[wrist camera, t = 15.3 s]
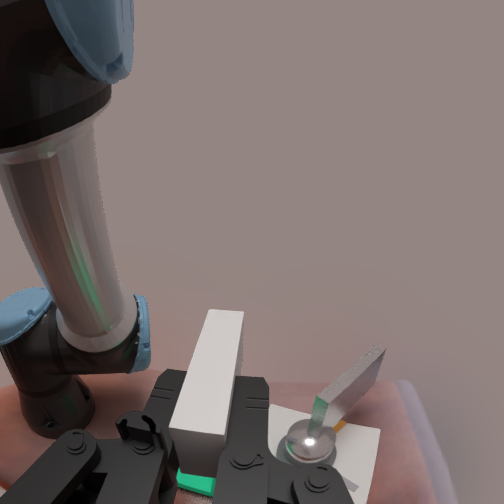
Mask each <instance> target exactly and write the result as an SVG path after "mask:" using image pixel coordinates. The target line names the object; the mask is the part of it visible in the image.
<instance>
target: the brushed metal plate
mask: <svg viewBox="0 0 504 504" xmlns="http://www.w3.org/2000/svg"><path fill="white" fill-rule="evenodd" d="M385 351H386V348H384V347H382V346H380V345H378V344H375V345H374V346H373V347H372V348H371V349H370V350H369V351H368V352H367V353H365V354H364V355H363V356H362V357H361V358H360V359H359V360H358V361H357V362H356V363H355V364H353V365H352V366H351V367H350V368H349V369H348V370H347V371H346V372H344V373H343V374H342V375H341V376H340V377H339V378H337V379H336V380H335V381H334V382H333V383H331V384H330V385H329V386H328V387H327V388H325V389H324V390H323V391H322V392H320V393H319V394H318V395H317V396H316V399H315V403H314V407H313V411H312V415H311V419H303V420H300V421H297V422H295V423H294V424H293V425H292V426H291V427H290V428H289V430H288V433H287V437H286V442H285V447H284V453H285V456H286V458H287V459H288V460H289V461H290V462H291V463H292V464H294V465H296V466H298V467H302V466H305V465H307V464H310V463H325V462H326V461H327V460H328V458H329V457H330V454H331V452H332V450H333V447H334V445H335V442H336V433H335V431H334V429H333V428H332V426H333V425H334V424H335V423H336V422H338V421H339V420H340V419H341V418H342V417H343V416H344V415H345V414H346V413H347V412H348V411H349V410H350V409H351V408H352V407H353V406H354V405H355V404H356V403H357V402H358V401H359V400H360V399H361V398H362V397H363V396H364V395H365V394H366V393H367V392H368V390H369V389H370V388H371V387H372V386H373V385H374V383H375V380H376V377H377V374H378V371H379V369H380V366H381V363H382V360H383V356H384V354H385Z"/></svg>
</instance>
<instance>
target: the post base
mask: <svg viewBox="0 0 504 504" xmlns="http://www.w3.org/2000/svg"><path fill="white" fill-rule="evenodd" d="M303 419H311V415H310V414H306V413H302V412H298V411H295V410H291V409H287V408H284V407H280V406H277V405H273V404H271V405H270V407H269V419H268V447H269V449H270V451H271V453H272V454H273V455H274V456H275V457H276V458H277V459H279V460H280V461H282V462H285V463H287V464H291V465H294V464H292V463H291V462H290V461H289V460H288V459H287V458H286V456H285V453H284V447H285V442H286V437H287V433H288V430H289V428H290V427H291V426H292V425H293V424H294V423H295V422H297V421H300V420H303ZM332 428H333V429H334V431H335V433H336V442H335V445H334V447H333V450H332V452H331V454H330V457H329V458H328V460H327V461H326V462H325V463H324V464H329V465H331V466H332V467H334V468H336V469H337V470H338V472H339V473H340V474H341V476H342V478H343V480H344V482H345V485H346V487H347V489H348V491H349V493H350V495H351V497H352V500H353V502H354V504H366V502H367V498H368V494H369V489H370V485H371V480H372V475H373V470H374V465H375V460H376V454H377V449H378V443H379V436H380V429H376V428H370V427H365V426H360V425H354V424H350V423H346V422H344V421H343V420H341V421H338V422H336V423H335V424H334V425H333V426H332ZM294 466H296V465H294Z"/></svg>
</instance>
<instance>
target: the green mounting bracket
mask: <svg viewBox="0 0 504 504" xmlns="http://www.w3.org/2000/svg"><path fill="white" fill-rule="evenodd" d="M176 478H177V481H178V487H181V488H184V489H187V490H190V491H193V492H197V493H200V494H204V495H207V496H211V497H213V493H214V487H215V481H216V478H210V477H203V476H196V475H189V474H183V473H181V472H180V468H179V469H178V473H177V477H176Z"/></svg>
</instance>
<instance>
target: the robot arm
mask: <svg viewBox="0 0 504 504" xmlns="http://www.w3.org/2000/svg"><path fill="white" fill-rule="evenodd" d="M133 8H134V6H133V0H0V184H1V187H2V190H3V192H4V195H5V197H6V201H7V203H8V206H9V208H10V211H11V214H12V216H13V219H14V221H15V224H16V226H17V228H18V230H19V233H20V235H21V238H22V240H23V242H24V244H25V247H26V249H27V251H28V253H29V255H30V257H31V259H32V261H33V263H34V265H35V267H36V269H37V271H38V273H39V275H40V277H41V279H42V281H43V283H44V285H45V286H46V288H47V289H44V288H42V287H32V288H28V289H24V290H21V291H18V292H16V293H14V294H12V295H10V296H9V297H7V298H6V299H4V300H3V301H2V302H1V303H0V352H1V354H2V356H3V359H4V361H5V363H6V365H7V367H8V369H9V372H10V374H11V375H12V378H13V380H14V382H15V384H16V386H17V388H18V391H19V398H20V404H21V409H22V413H23V416H24V418H25V419H26V421H27V423H28V424H29V426H30V427H31V428H32V429H33V430H34V431H35V432H36V433H38V434H39V435H42V436H44V437H48V438H58V439H57V440H56V441H55V442H54V443H53V444H52V445H51V446H50V447H49V448H48V449H47V450H46V451H45V452H44V453H43V454H42V455H41V456H40V457H39V458H38V459H37V460H36V462H35V463H34V464H33V465H32V466H31V467H30V468H29V469H28V470H27V471H26V472H25V473H24V474H23V475H22V476H21V477H20V478H19V479H18V480H17V481H16V482H15V483H14V484H13V485H12V486H11V487H10V488H9V489H8V490H7V491H6V492H5V493H4V494H3V495H2V497H0V504H174V500H175V496H176V492H177V488H178V481H177V478H176V477H177V473H178V469H179V468H180V472H181V473H183V474H189V475H196V476H203V477H210V478H216V481H215V487H214V493H213V499H212V504H354V502H353V500H352V497H351V495H350V493H349V491H348V489H347V487H346V485H345V482H344V480H343V478H342V476H341V474H340V473H339V472H338V470H337V469H336V468H334V467H332V466H331V465H329V464H324V463H310V464H307V465H305V466H302V467H298V466H294V465H291V464H287V463H285V462H282V461H280V460H279V459H277V458H276V457H275V456H274V455H273V454H272V453H271V451H270V449H269V447H268V419H269V386H268V385H267V383H266V381H265V379H264V378H263V377H247V376H240V374H241V367H242V355H243V354H242V353H243V325H244V312H239V311H226V310H225V311H224V310H213V309H209V312H208V314H207V317H206V320H205V323H204V326H203V329H202V331H201V335H200V337H199V340H198V343H197V346H196V348H195V351H194V354H193V357H192V360H191V363H190V366H189V369H188V371H180V370H173V369H167V370H166V371H164V372H163V373H162V374H161V375H160V376H159V377H158V379H157V381H156V383H155V385H154V389H153V390H152V392H151V395H150V397H149V399H148V401H147V404H146V406H145V408H144V411H133V412H129V413H126V414H124V415H122V416H121V417H119V419H118V420H117V421H116V423H115V424H116V426H117V428H118V431H119V433H120V435H121V438H120V439H95V438H94V436H92V435H91V434H90V433H89V432H87V431H85V430H82V429H84V428H85V427H86V426H87V425H88V423H89V422H90V421H91V419H92V417H93V414H94V410H95V403H94V399H93V397H92V394H91V392H90V390H89V388H88V386H87V385H86V384H85V383H84V382H83V380H82V379H81V378H80V377H79V376H78V375H86V374H112V373H126V374H130V373H133V372H138V371H144V370H146V369H147V368H148V367H149V365H150V362H151V347H150V325H149V313H148V305H147V301H146V298H145V297H144V296H140V295H136V294H132V292H131V290H130V289H129V288H128V287H127V286H126V285H125V284H124V283H122V282H121V281H119V280H118V276H117V272H116V268H115V263H114V259H113V254H112V250H111V245H110V241H109V236H108V230H107V226H106V220H105V214H104V208H103V202H102V196H101V190H100V183H99V176H98V168H97V160H96V151H95V141H94V129H93V122H94V121H95V120H96V118H97V117H98V116H99V115H100V114H101V113H102V112H103V111H104V110H105V109H106V108H107V107H108V105H109V104H110V101H111V84H115V83H117V82H118V81H119V80H122V79H125V78H126V77H127V76H128V75H129V74H130V71H131V68H132V62H133V31H134V9H133ZM52 299H53V300H52Z"/></svg>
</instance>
